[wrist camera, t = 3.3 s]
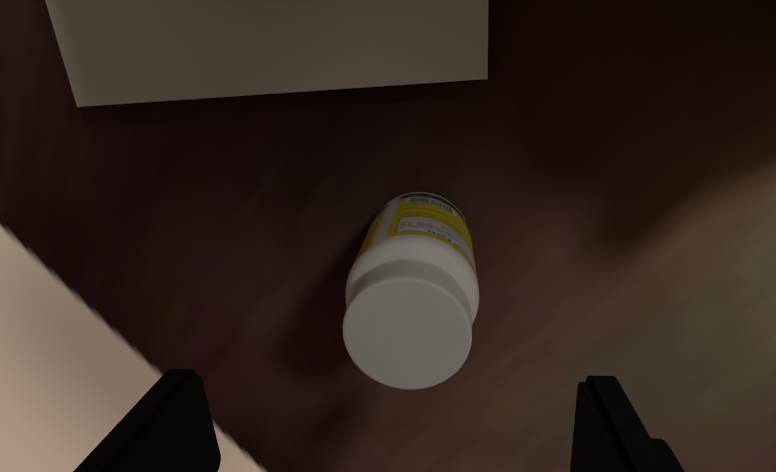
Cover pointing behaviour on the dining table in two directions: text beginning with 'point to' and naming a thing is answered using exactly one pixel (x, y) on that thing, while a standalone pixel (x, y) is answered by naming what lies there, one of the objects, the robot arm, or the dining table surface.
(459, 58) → the base plate
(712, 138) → the dining table surface
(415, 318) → the supplement bottle
